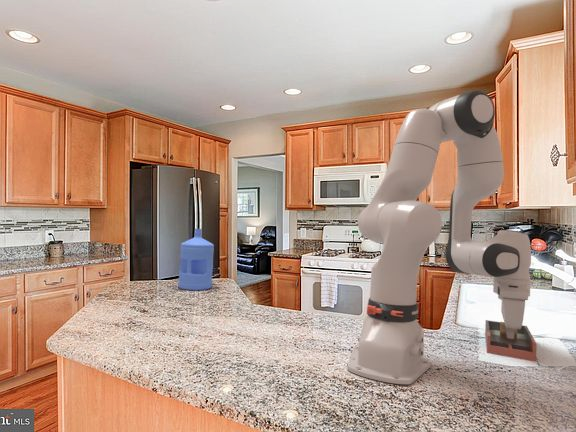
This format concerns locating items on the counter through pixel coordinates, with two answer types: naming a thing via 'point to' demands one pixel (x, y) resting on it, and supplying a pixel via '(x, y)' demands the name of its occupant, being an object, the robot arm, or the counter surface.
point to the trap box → (510, 342)
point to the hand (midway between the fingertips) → (509, 337)
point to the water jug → (196, 263)
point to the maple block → (503, 332)
